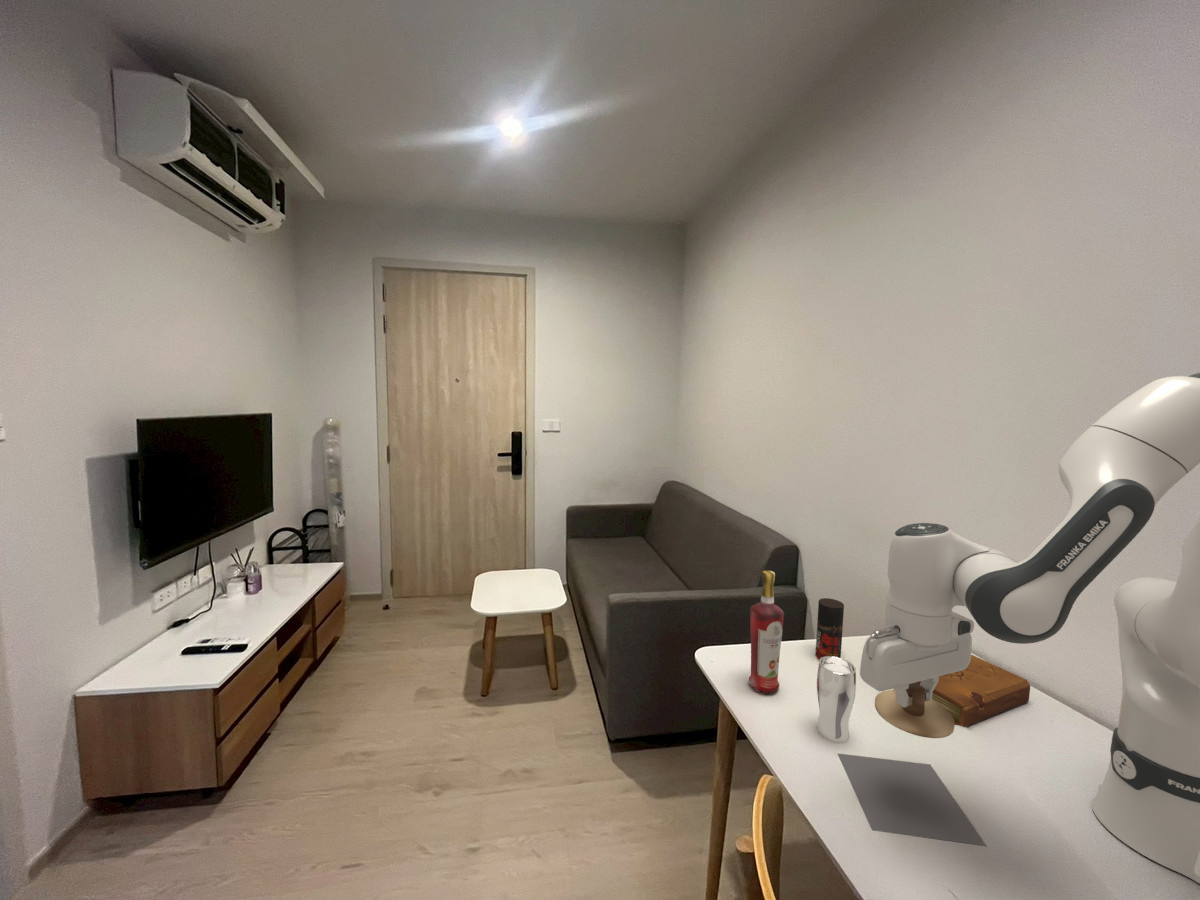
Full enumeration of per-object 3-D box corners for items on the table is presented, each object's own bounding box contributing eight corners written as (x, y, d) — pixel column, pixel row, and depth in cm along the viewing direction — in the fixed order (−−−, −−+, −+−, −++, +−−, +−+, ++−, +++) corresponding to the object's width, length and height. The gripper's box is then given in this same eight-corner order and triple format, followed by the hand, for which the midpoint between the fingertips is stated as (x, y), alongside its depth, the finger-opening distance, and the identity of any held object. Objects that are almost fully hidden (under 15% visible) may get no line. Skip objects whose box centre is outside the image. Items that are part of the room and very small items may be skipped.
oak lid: (930, 696, 82) (932, 670, 82) (970, 741, 72) (972, 711, 71) (864, 692, 84) (865, 667, 84) (892, 735, 73) (894, 706, 73)
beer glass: (857, 749, 90) (862, 677, 89) (818, 744, 92) (823, 672, 90) (846, 725, 97) (850, 657, 95) (810, 720, 98) (814, 653, 97)
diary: (962, 732, 96) (964, 706, 95) (878, 681, 113) (880, 659, 113) (1028, 704, 104) (1030, 680, 104) (941, 661, 122) (942, 640, 121)
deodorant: (810, 654, 124) (813, 600, 122) (827, 649, 126) (830, 596, 125) (828, 666, 119) (832, 609, 117) (845, 661, 121) (849, 605, 119)
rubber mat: (930, 767, 86) (930, 764, 86) (986, 849, 70) (986, 845, 70) (837, 756, 89) (837, 753, 89) (871, 833, 73) (872, 829, 73)
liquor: (768, 676, 114) (773, 565, 111) (786, 694, 107) (792, 577, 104) (741, 680, 113) (745, 568, 110) (758, 699, 106) (763, 579, 102)
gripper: (885, 642, 70) (882, 728, 71) (982, 620, 76) (977, 700, 77) (851, 623, 76) (848, 703, 77) (943, 605, 82) (939, 679, 83)
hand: (913, 701), depth 77 cm, fingers closed on oak lid, 3 cm apart
